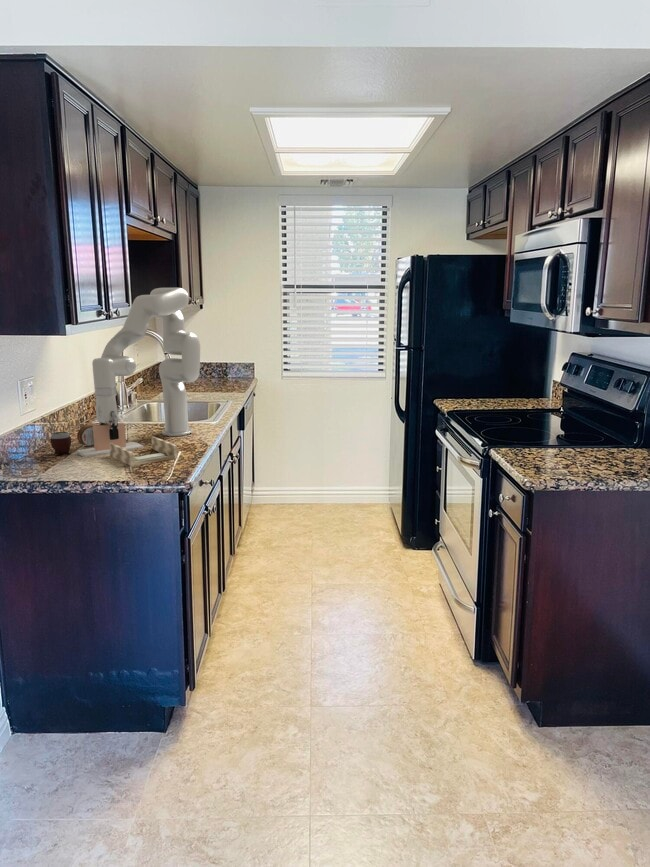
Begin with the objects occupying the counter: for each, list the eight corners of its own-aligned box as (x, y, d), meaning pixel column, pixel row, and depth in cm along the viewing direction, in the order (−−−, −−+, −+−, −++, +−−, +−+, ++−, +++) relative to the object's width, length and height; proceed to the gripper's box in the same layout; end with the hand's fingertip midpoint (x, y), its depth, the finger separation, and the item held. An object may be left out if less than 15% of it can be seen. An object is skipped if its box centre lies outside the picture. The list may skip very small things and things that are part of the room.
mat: (77, 453, 229) (76, 450, 229) (134, 444, 243) (134, 441, 243) (85, 457, 222) (85, 455, 222) (143, 448, 236) (143, 445, 236)
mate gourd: (76, 452, 231) (72, 412, 228) (63, 457, 224) (59, 416, 220) (58, 451, 233) (54, 412, 229) (45, 456, 225) (40, 416, 222)
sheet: (94, 449, 230) (92, 426, 228) (123, 445, 237) (121, 422, 235) (97, 451, 228) (94, 427, 226) (126, 446, 235) (124, 423, 233)
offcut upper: (134, 460, 216) (133, 457, 216) (160, 456, 222) (160, 453, 222) (138, 462, 213) (138, 459, 213) (165, 458, 219) (165, 454, 219)
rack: (110, 456, 224) (109, 443, 223) (154, 449, 234) (153, 436, 233) (131, 467, 209) (130, 452, 208) (177, 458, 220) (176, 445, 219)
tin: (112, 440, 250) (110, 420, 248) (116, 441, 248) (115, 421, 246) (77, 447, 239) (75, 426, 237) (82, 448, 237) (79, 427, 235)
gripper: (87, 390, 232) (91, 435, 236) (104, 395, 219) (108, 442, 223) (107, 388, 237) (111, 432, 240) (124, 393, 224) (128, 439, 227)
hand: (109, 437), depth 232 cm, fingers open, 9 cm apart
